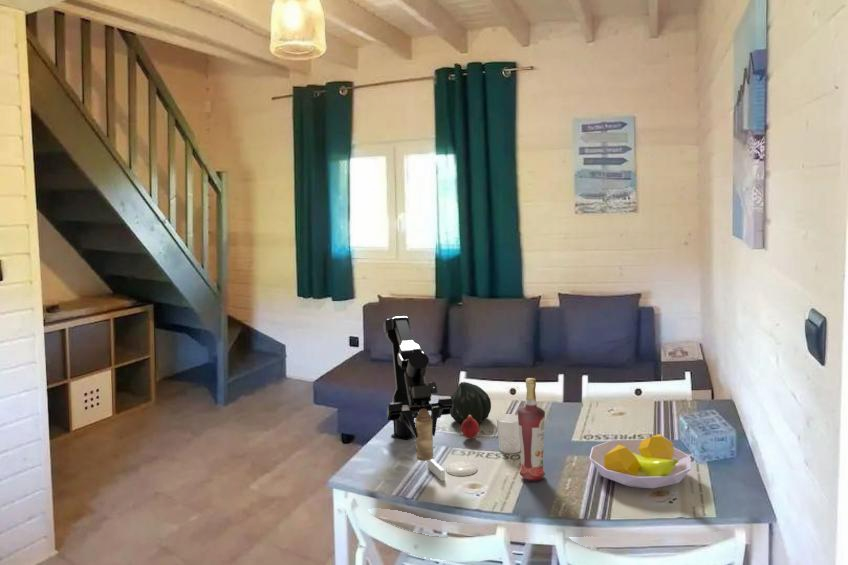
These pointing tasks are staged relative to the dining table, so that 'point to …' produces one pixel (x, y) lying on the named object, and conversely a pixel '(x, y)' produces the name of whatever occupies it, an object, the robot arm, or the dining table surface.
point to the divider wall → (436, 469)
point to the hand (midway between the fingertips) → (425, 436)
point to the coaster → (461, 468)
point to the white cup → (508, 433)
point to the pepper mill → (424, 435)
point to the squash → (470, 403)
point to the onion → (470, 427)
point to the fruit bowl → (641, 462)
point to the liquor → (531, 435)
